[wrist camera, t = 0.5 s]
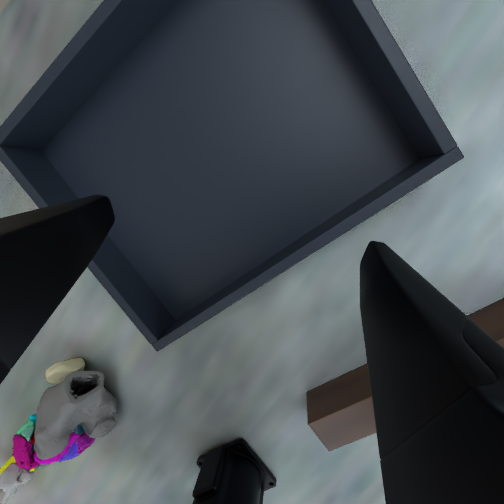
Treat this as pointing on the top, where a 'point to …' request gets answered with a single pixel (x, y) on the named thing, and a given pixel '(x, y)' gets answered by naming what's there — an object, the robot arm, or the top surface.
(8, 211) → the top surface
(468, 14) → the top surface
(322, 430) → the stick
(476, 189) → the top surface
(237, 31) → the tin
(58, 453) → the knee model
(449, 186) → the top surface
